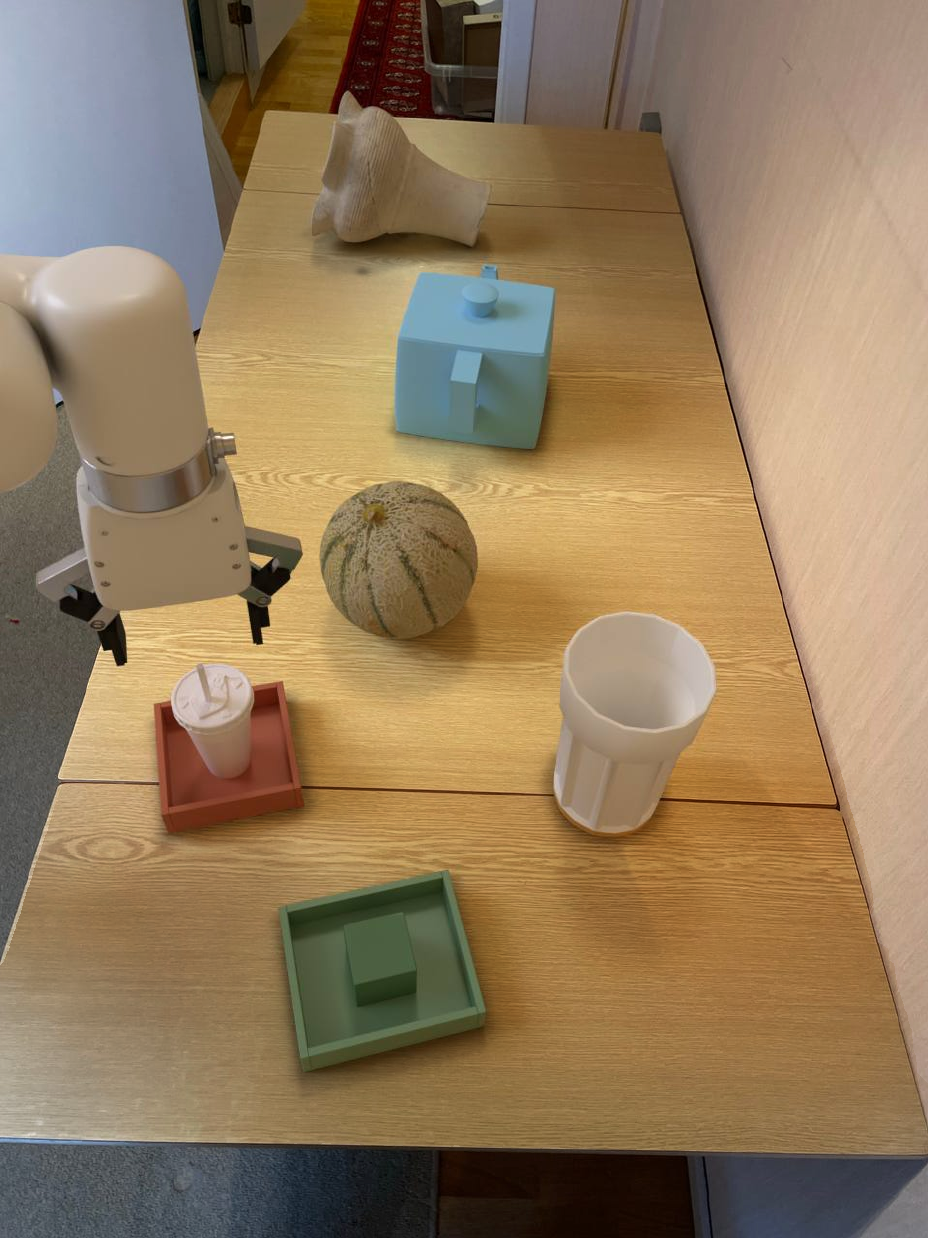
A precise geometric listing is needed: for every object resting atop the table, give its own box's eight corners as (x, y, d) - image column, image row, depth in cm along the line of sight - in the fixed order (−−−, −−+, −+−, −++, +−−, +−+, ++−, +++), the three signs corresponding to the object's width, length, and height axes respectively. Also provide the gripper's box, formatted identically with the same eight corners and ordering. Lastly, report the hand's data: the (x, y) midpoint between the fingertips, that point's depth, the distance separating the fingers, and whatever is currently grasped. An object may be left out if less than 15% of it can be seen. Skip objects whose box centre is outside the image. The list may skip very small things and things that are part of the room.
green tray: (304, 1072, 69) (300, 1059, 67) (282, 923, 76) (278, 906, 74) (484, 1026, 72) (486, 1012, 69) (447, 886, 79) (448, 869, 76)
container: (385, 457, 112) (382, 341, 100) (423, 334, 128) (424, 221, 116) (533, 477, 111) (548, 362, 99) (553, 350, 127) (567, 238, 115)
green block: (356, 1007, 72) (354, 985, 68) (345, 949, 74) (342, 924, 71) (416, 993, 72) (417, 970, 69) (403, 935, 75) (403, 911, 72)
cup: (513, 795, 84) (532, 672, 71) (590, 714, 90) (621, 587, 77) (621, 876, 80) (662, 762, 67) (695, 786, 86) (747, 665, 72)
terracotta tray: (168, 834, 81) (161, 815, 78) (160, 723, 87) (153, 703, 85) (304, 806, 83) (301, 787, 80) (286, 700, 90) (282, 680, 87)
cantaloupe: (501, 597, 99) (513, 486, 88) (418, 694, 91) (419, 585, 79) (383, 537, 104) (379, 423, 92) (293, 623, 96) (278, 511, 84)
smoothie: (178, 782, 83) (144, 684, 72) (209, 722, 87) (181, 620, 76) (250, 800, 82) (226, 703, 72) (277, 738, 86) (258, 637, 76)
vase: (534, 123, 141) (344, 57, 136) (539, 167, 124) (323, 94, 120) (488, 266, 154) (313, 211, 150) (487, 324, 138) (290, 264, 133)
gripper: (284, 406, 63) (300, 587, 76) (-2, 435, 59) (65, 620, 72) (302, 483, 58) (315, 661, 71) (-8, 520, 55) (65, 701, 68)
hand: (189, 640), depth 72 cm, fingers open, 9 cm apart
